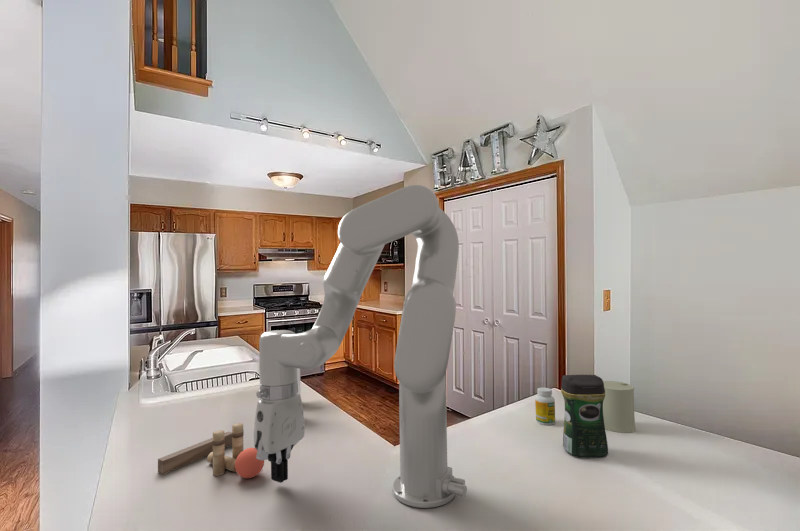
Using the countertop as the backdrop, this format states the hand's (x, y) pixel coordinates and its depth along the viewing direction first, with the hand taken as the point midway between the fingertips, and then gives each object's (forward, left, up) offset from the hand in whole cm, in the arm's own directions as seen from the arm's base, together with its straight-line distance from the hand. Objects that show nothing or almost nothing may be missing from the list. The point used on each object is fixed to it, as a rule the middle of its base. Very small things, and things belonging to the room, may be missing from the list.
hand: (279, 479), depth 82 cm
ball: (+9, 0, +2) cm, 9 cm away
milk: (+37, -39, -2) cm, 54 cm away
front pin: (+14, 0, 0) cm, 14 cm away
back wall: (+28, 0, -2) cm, 28 cm away
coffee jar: (-53, -47, -2) cm, 71 cm away
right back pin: (+16, -3, -2) cm, 17 cm away
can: (-59, -69, -2) cm, 91 cm away
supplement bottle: (-41, -63, -2) cm, 75 cm away
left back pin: (+16, +2, -2) cm, 17 cm away
